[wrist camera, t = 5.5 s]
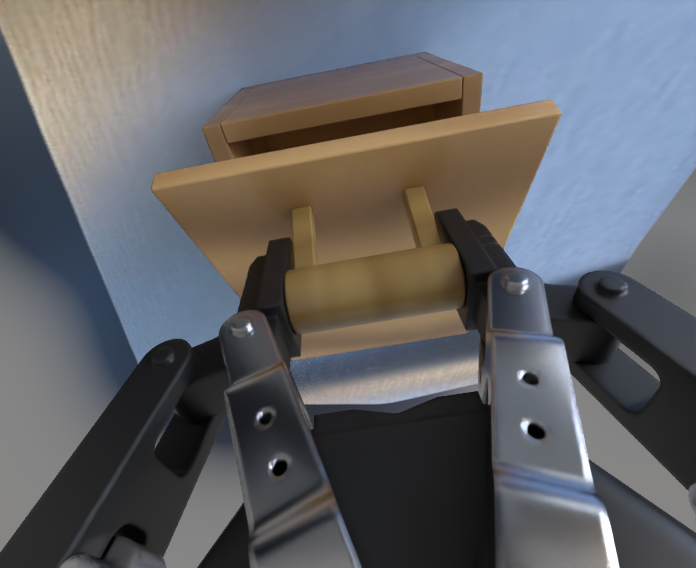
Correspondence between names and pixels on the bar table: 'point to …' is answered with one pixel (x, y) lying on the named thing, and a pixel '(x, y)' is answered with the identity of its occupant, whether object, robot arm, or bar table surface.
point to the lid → (365, 220)
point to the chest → (342, 105)
